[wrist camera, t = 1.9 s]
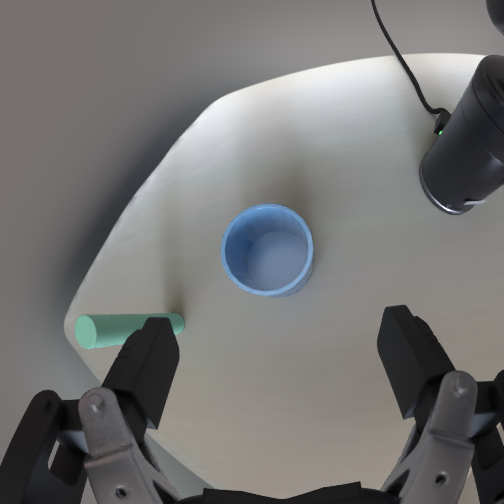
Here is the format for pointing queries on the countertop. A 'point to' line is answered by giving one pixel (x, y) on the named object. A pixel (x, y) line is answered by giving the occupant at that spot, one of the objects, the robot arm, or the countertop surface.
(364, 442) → the countertop surface
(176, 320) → the mint green tapered cylinder
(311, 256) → the cup
